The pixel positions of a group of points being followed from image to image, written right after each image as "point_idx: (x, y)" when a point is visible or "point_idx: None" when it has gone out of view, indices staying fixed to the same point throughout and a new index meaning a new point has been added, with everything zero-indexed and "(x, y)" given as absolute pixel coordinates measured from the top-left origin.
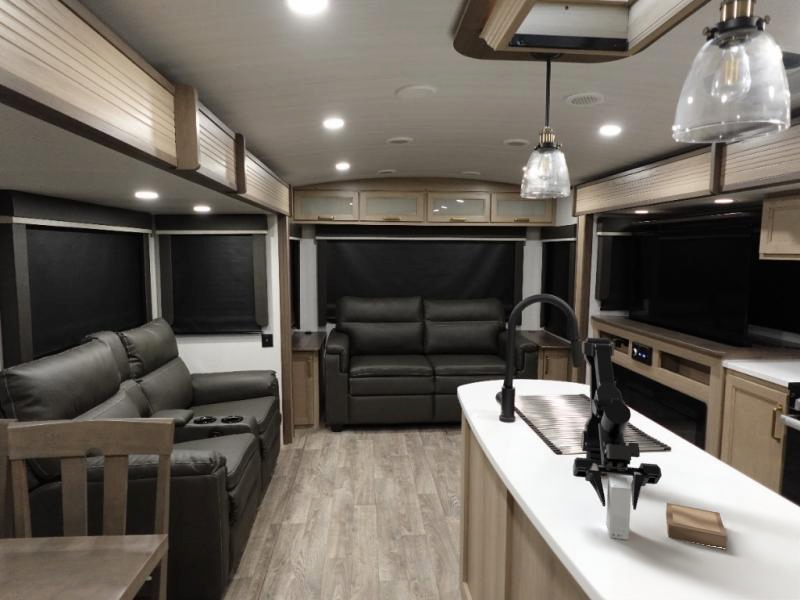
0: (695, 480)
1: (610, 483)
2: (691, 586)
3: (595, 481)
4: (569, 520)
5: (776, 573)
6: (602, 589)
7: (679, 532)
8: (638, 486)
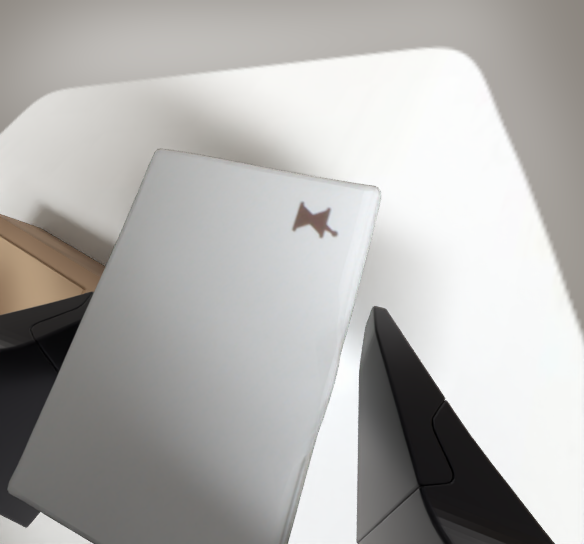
0: None
1: (348, 308)
2: (228, 89)
3: (528, 517)
4: (473, 437)
5: (16, 146)
6: (462, 56)
7: (101, 271)
8: (22, 320)
